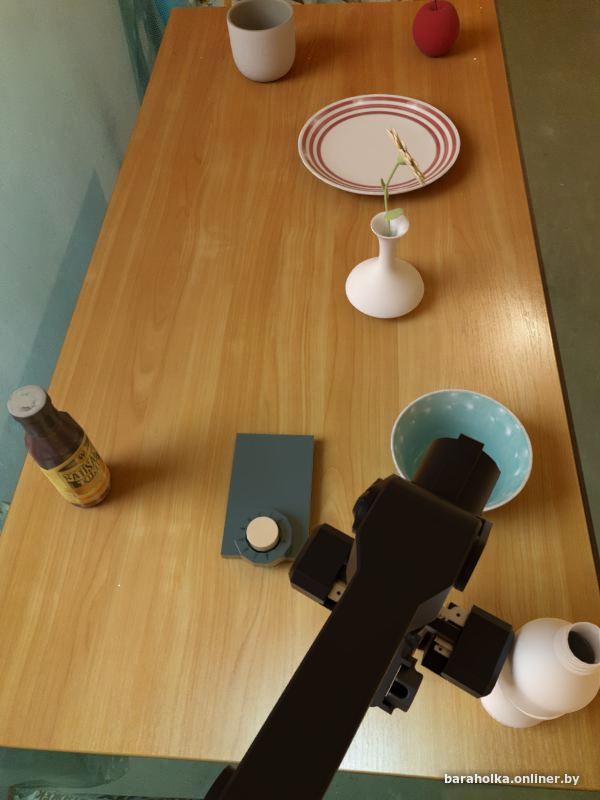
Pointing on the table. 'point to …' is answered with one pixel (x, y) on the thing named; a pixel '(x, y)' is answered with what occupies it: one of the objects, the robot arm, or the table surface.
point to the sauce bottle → (60, 447)
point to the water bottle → (546, 673)
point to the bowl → (470, 417)
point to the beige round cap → (263, 533)
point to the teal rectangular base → (269, 495)
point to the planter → (262, 38)
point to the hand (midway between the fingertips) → (390, 627)
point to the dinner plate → (377, 143)
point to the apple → (436, 27)
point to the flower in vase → (388, 258)
